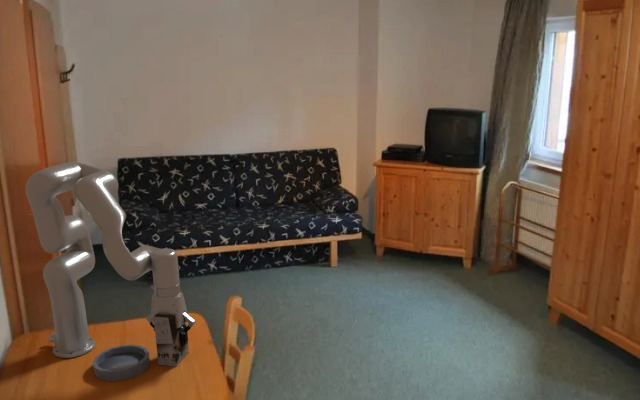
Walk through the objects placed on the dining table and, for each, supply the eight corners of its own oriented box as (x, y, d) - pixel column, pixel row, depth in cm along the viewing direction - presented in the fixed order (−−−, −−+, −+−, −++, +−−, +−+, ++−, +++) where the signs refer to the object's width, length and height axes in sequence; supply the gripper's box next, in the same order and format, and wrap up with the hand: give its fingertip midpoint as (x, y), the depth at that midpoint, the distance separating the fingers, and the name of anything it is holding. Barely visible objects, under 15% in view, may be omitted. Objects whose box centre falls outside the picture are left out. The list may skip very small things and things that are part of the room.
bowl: (83, 376, 167) (81, 367, 166) (115, 350, 182) (114, 342, 181) (129, 383, 163) (128, 374, 162) (159, 356, 177) (158, 347, 177)
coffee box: (177, 366, 171) (172, 317, 167) (157, 365, 172) (152, 316, 168) (189, 351, 180) (185, 304, 176) (171, 350, 181) (166, 303, 177)
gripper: (134, 292, 169) (141, 345, 174) (187, 297, 165) (192, 352, 169) (148, 282, 176) (154, 334, 181) (199, 287, 172) (203, 340, 176)
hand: (172, 342), depth 175 cm, fingers open, 7 cm apart
